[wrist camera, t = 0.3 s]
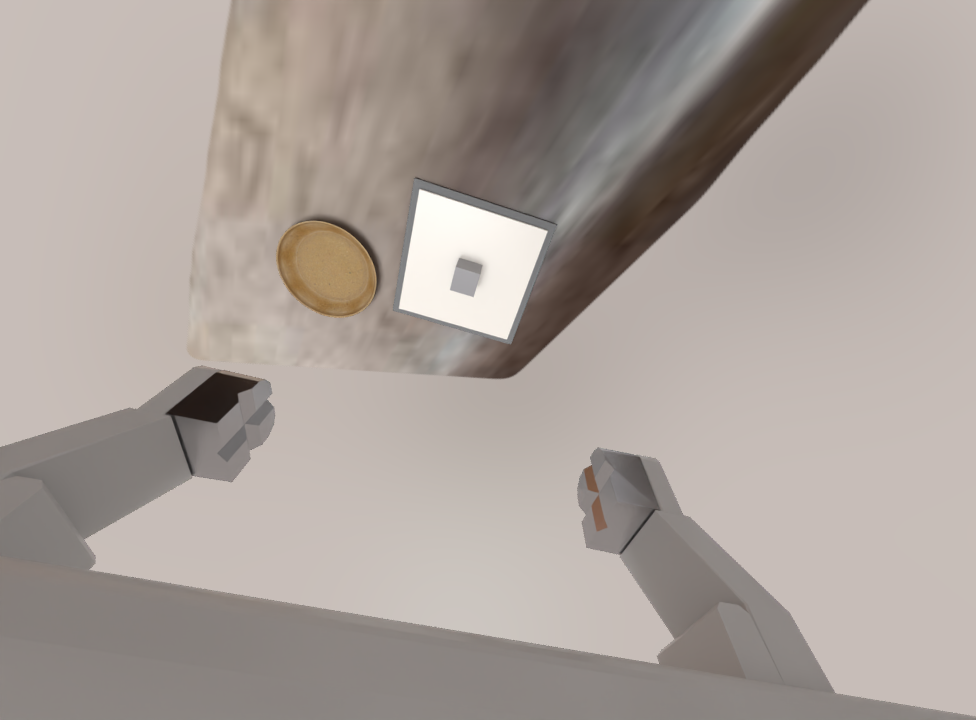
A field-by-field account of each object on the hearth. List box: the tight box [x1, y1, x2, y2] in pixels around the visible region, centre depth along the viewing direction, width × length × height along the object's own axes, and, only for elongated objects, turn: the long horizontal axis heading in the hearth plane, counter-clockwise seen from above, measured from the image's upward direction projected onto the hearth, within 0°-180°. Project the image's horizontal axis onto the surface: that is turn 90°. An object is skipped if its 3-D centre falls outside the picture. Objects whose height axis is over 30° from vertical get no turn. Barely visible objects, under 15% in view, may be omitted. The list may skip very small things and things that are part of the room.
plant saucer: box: [276, 221, 377, 318], centre depth 55 cm, size 15×15×3 cm
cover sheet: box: [399, 189, 548, 340], centre depth 52 cm, size 18×18×5 cm
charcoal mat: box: [393, 178, 557, 344], centre depth 54 cm, size 20×20×1 cm
